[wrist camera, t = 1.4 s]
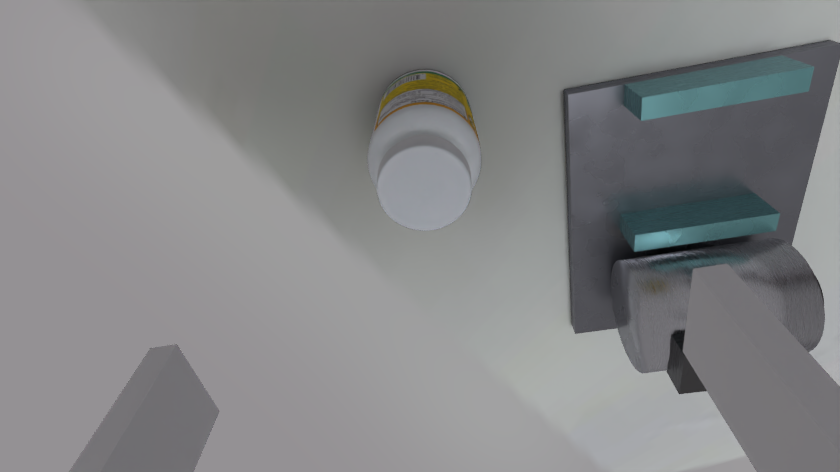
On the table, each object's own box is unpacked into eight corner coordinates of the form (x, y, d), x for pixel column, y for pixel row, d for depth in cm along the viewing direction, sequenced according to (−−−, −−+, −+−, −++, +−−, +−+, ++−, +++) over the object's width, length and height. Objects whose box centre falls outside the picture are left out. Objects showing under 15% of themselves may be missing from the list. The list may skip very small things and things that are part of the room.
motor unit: (563, 89, 27) (621, 155, 19) (829, 40, 26) (1013, 89, 18) (571, 324, 37) (613, 434, 29) (767, 298, 35) (868, 406, 27)
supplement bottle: (397, 52, 26) (385, 106, 18) (486, 89, 27) (512, 156, 19) (366, 139, 29) (343, 220, 21) (448, 170, 30) (457, 259, 22)
